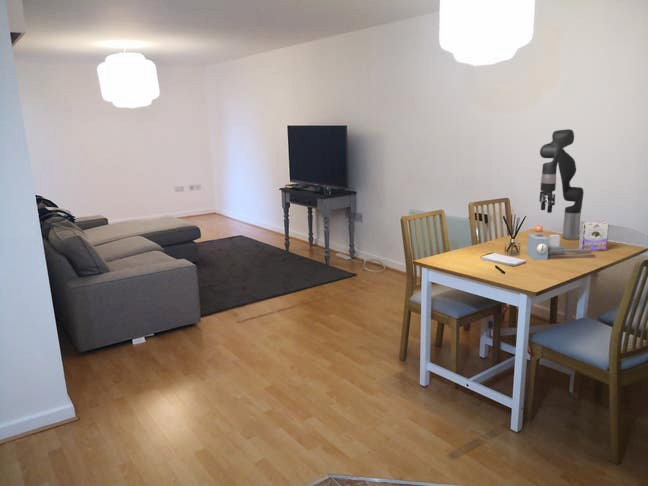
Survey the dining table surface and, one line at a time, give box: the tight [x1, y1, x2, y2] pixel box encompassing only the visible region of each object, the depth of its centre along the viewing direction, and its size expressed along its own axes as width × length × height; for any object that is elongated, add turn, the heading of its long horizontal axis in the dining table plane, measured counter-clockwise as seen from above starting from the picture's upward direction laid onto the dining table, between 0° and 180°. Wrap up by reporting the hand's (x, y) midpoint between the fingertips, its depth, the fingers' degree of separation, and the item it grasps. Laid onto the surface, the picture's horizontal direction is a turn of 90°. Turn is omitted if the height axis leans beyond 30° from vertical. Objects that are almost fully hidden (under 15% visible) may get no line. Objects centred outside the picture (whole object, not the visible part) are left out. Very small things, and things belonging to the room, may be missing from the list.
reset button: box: [534, 225, 544, 233], centre depth 280 cm, size 4×4×3 cm
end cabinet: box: [526, 233, 549, 261], centre depth 282 cm, size 13×7×12 cm, turn 179°
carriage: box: [548, 234, 565, 252], centre depth 281 cm, size 8×8×8 cm
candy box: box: [578, 220, 610, 252], centre depth 292 cm, size 14×6×16 cm, turn 84°
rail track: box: [547, 248, 596, 260], centre depth 283 cm, size 10×26×4 cm, turn 89°
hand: (546, 211), depth 276 cm, fingers open, 8 cm apart
